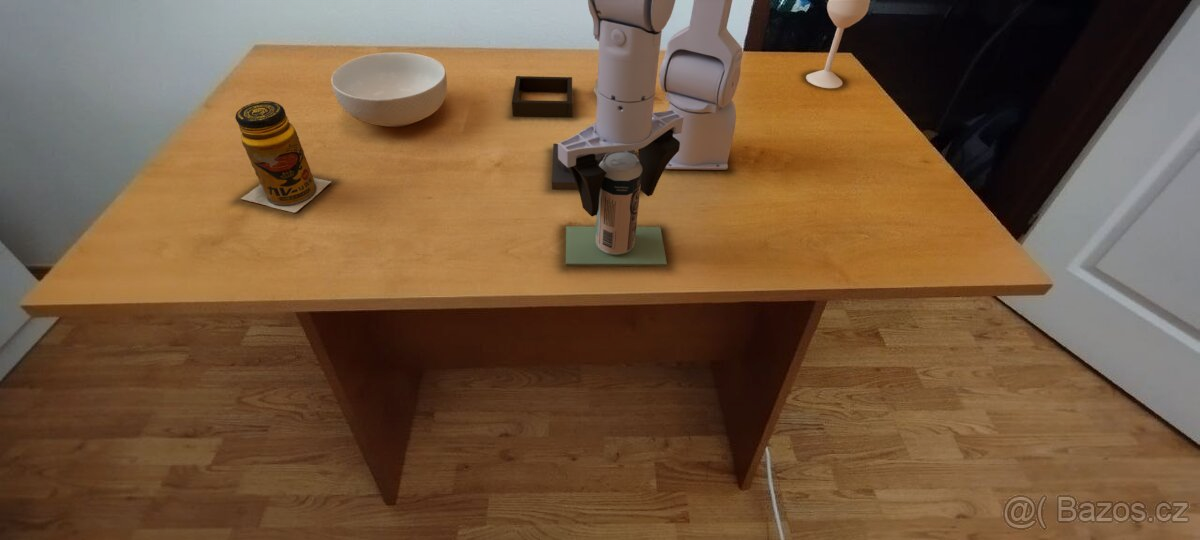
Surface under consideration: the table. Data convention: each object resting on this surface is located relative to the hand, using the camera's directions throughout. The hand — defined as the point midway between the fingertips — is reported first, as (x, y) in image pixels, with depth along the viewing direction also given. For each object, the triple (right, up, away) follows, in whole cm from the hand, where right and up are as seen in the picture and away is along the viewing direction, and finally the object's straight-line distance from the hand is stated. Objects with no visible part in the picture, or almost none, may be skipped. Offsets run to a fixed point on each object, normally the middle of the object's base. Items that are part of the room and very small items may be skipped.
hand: (618, 201), depth 66 cm
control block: (-3, +7, +17) cm, 18 cm away
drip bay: (-12, +20, +31) cm, 39 cm away
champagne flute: (+40, +28, +42) cm, 64 cm away
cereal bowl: (-34, +17, +27) cm, 47 cm away
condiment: (-44, +2, +11) cm, 45 cm away
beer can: (0, -5, +5) cm, 7 cm away
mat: (0, -5, +5) cm, 7 cm away
